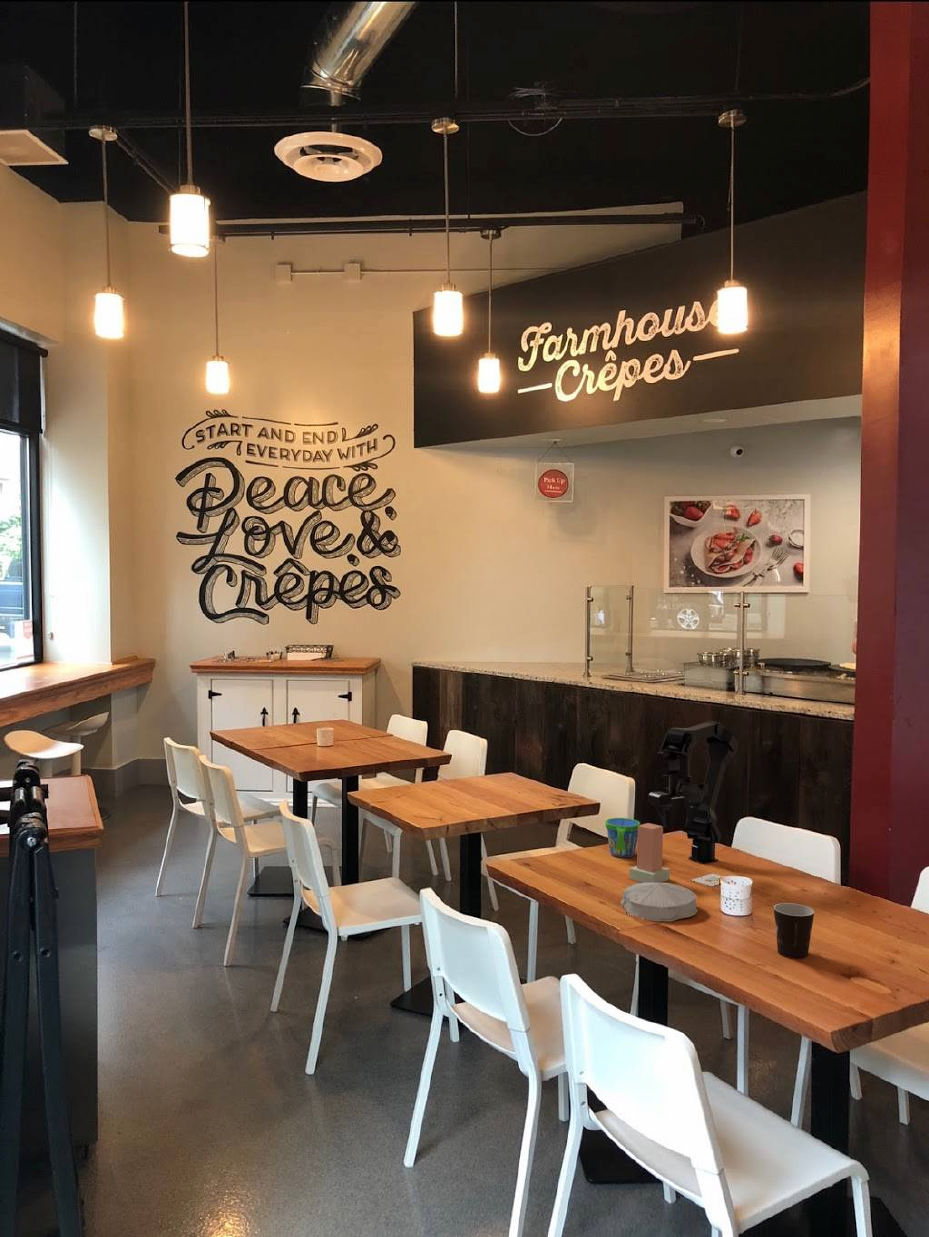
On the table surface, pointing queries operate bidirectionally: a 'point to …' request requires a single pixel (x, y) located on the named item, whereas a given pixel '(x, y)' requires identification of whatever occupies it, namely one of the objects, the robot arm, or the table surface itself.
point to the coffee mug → (793, 929)
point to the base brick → (649, 875)
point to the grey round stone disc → (659, 901)
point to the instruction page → (708, 880)
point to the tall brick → (649, 847)
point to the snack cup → (622, 836)
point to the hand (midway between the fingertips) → (678, 825)
